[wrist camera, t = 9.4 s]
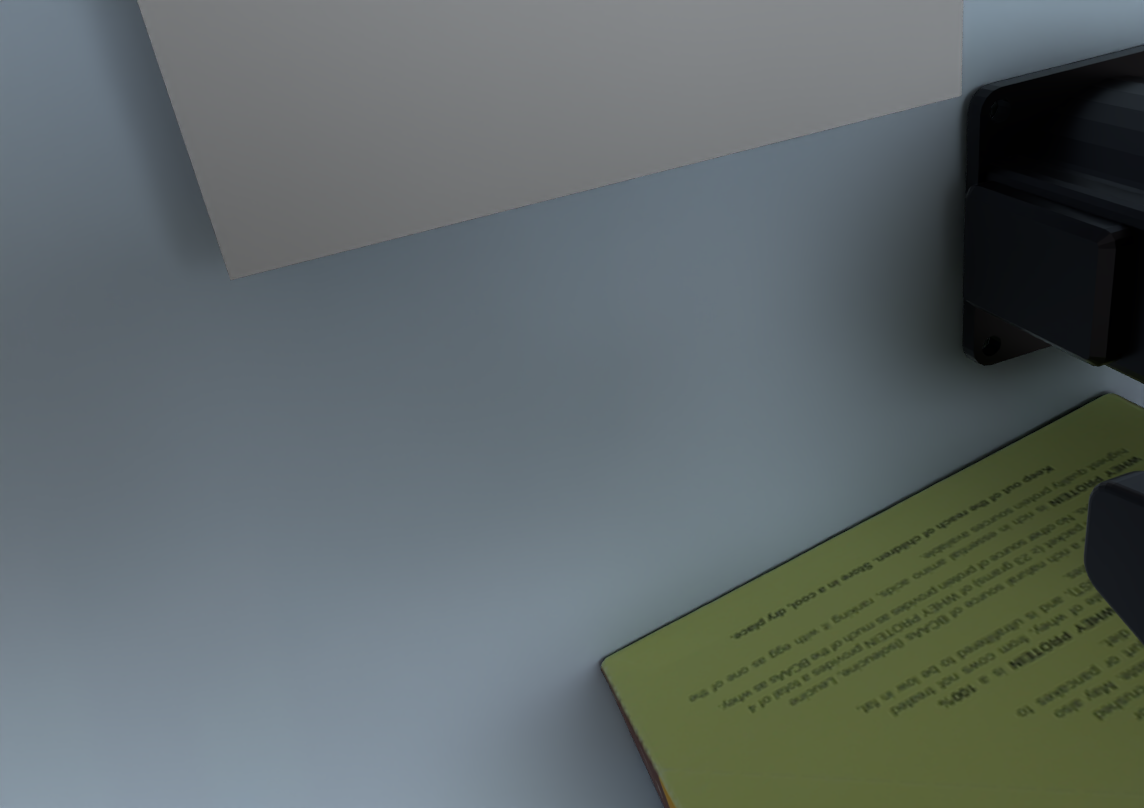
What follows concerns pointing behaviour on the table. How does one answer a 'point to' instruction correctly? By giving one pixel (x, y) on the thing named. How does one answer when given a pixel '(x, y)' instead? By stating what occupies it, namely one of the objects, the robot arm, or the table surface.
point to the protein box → (914, 654)
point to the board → (507, 100)
